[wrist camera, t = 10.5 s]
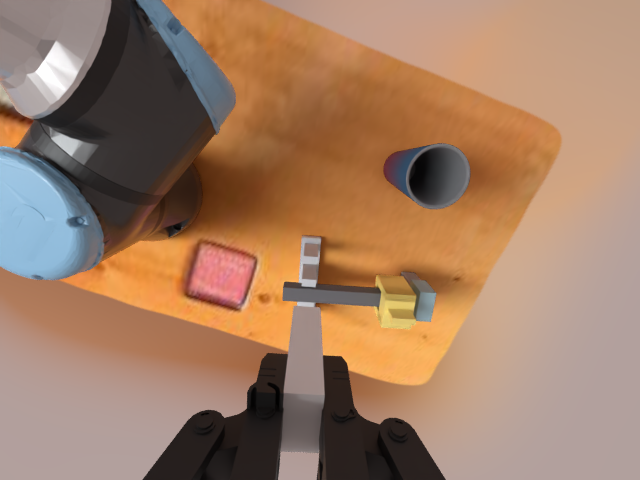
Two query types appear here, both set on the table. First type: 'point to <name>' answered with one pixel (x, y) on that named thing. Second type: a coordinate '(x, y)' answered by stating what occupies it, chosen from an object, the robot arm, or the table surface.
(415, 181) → the cup
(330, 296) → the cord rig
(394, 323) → the sleeve
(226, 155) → the table surface
